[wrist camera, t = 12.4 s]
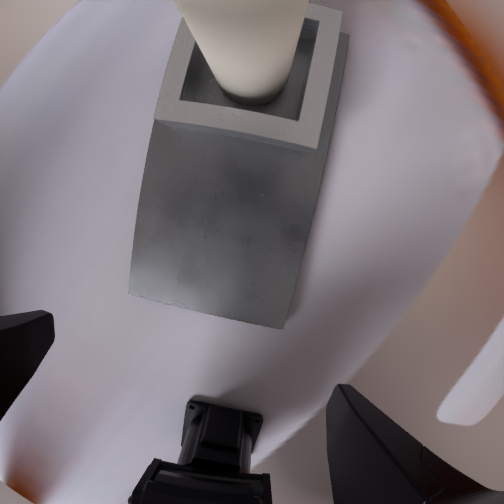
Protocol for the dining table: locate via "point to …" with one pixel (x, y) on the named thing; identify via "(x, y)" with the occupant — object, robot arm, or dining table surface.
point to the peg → (247, 43)
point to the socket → (235, 181)
